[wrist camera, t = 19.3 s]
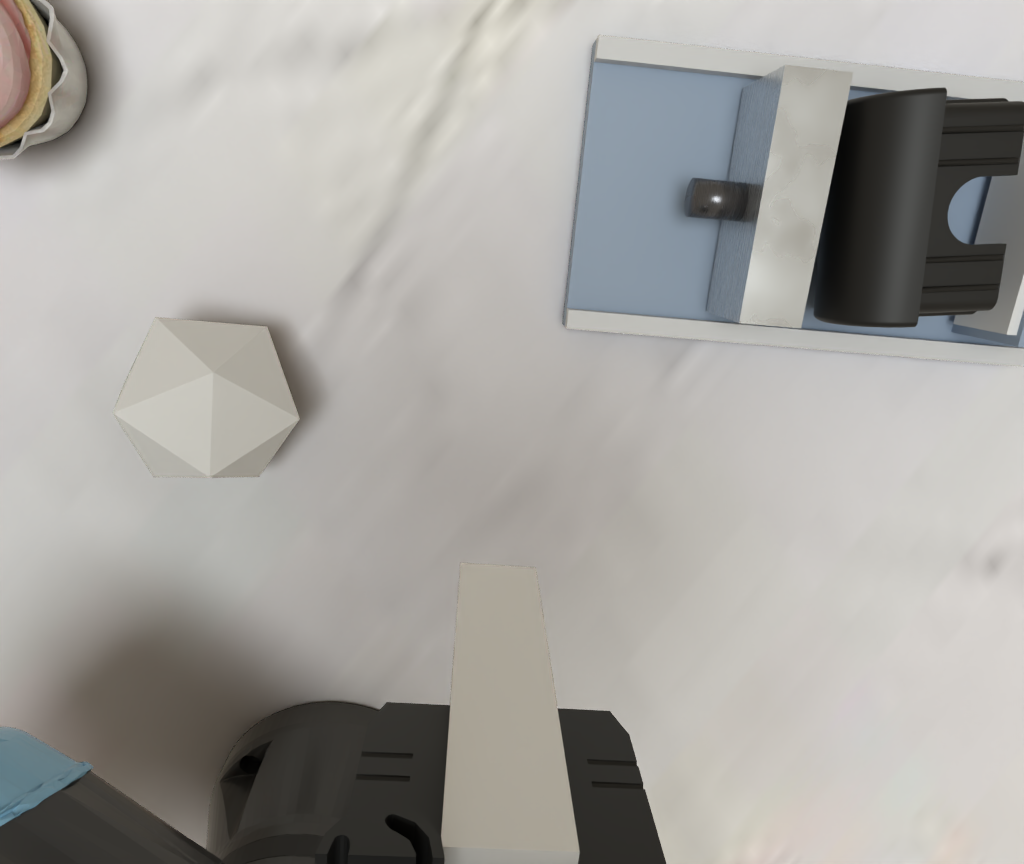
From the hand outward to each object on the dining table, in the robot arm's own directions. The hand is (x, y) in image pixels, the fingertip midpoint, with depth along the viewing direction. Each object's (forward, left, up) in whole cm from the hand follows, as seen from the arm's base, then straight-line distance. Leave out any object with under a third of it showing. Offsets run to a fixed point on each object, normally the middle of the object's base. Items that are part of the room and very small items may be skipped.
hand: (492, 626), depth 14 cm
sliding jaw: (+10, -12, -25) cm, 29 cm away
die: (-2, +14, -27) cm, 30 cm away
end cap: (+10, -19, -25) cm, 33 cm away
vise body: (+10, -17, -26) cm, 33 cm away
